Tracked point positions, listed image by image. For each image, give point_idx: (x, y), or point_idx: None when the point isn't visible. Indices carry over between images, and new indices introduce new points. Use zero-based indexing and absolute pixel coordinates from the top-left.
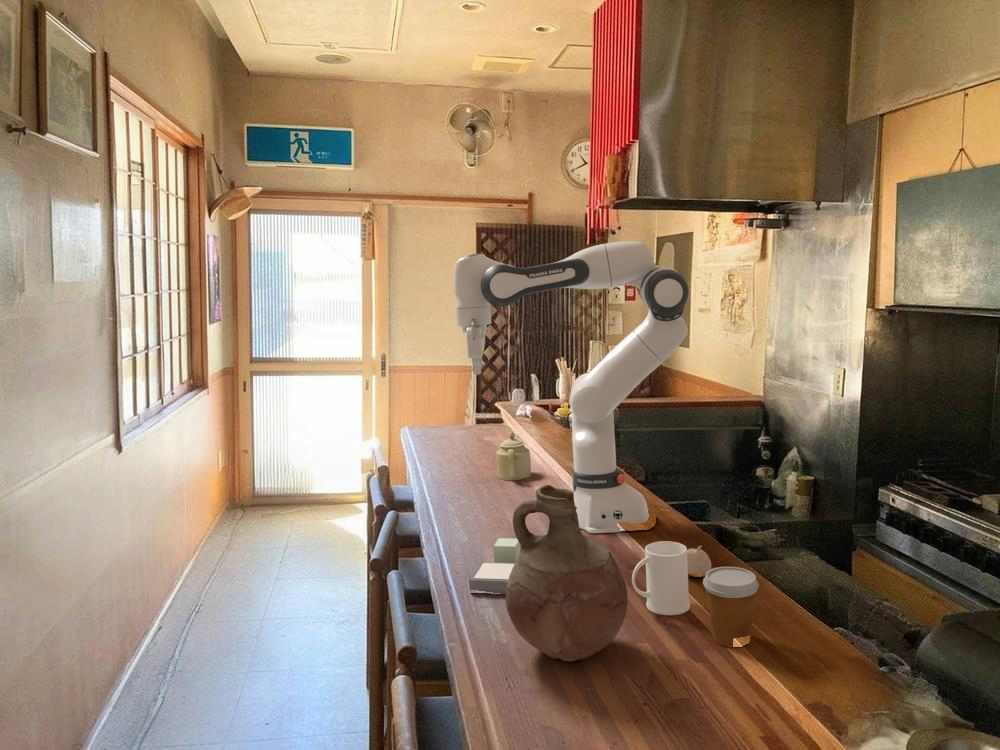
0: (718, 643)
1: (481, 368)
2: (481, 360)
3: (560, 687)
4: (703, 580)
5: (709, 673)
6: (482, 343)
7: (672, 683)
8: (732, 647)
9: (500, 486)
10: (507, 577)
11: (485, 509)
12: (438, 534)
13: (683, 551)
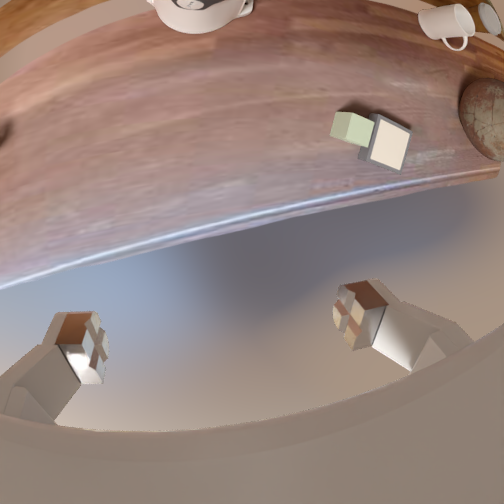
0: None
1: (95, 312)
2: (47, 355)
3: None
4: (489, 29)
5: (483, 54)
6: (495, 460)
7: (488, 75)
8: None
9: (8, 170)
10: (405, 137)
11: (106, 170)
12: (213, 223)
13: (457, 6)
